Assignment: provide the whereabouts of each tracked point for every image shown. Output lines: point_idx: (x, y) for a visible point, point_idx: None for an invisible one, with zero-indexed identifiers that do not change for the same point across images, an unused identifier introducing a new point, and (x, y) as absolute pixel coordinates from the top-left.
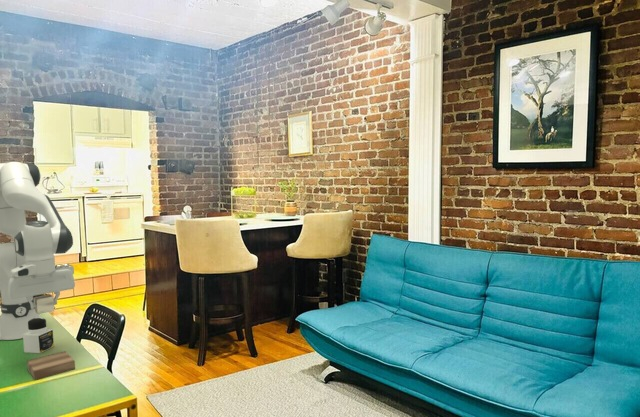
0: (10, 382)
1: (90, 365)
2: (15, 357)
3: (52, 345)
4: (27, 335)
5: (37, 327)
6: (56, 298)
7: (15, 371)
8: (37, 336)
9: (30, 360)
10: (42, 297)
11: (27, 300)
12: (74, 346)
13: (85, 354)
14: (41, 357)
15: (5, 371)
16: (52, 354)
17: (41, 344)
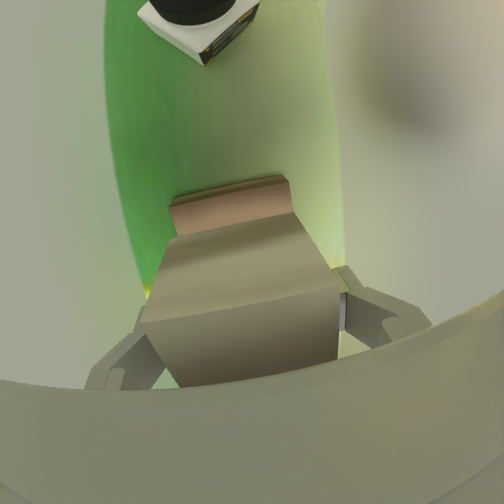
0: (147, 270)
1: (330, 262)
2: (130, 67)
3: (248, 25)
4: (153, 24)
5: (192, 22)
6: (362, 335)
7: (143, 199)
8: (193, 51)
9: (179, 213)
10: (245, 374)
11: (105, 360)
12: (317, 63)
13: (338, 167)
14: (212, 203)
15: (117, 184)
16: (246, 192)
17: (210, 55)
